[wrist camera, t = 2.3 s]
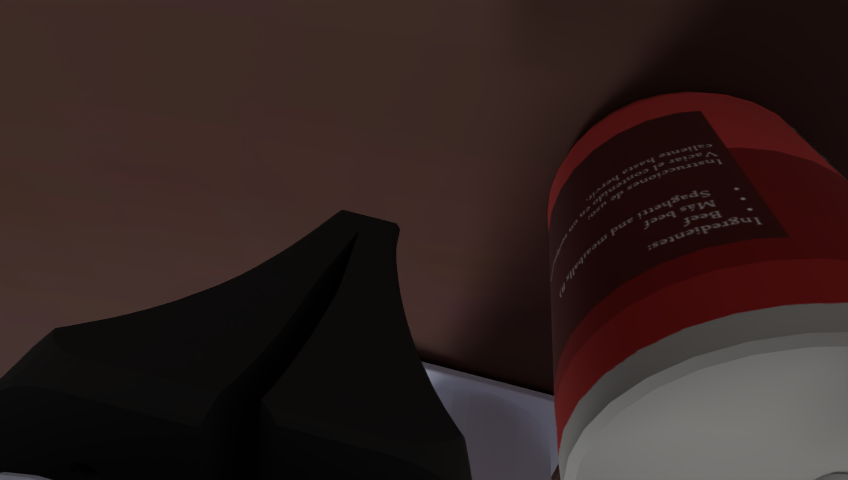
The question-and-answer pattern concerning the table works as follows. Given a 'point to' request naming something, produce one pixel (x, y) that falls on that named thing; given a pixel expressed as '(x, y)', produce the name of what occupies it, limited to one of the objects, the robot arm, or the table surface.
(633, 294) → the canned food
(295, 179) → the table surface
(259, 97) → the table surface
